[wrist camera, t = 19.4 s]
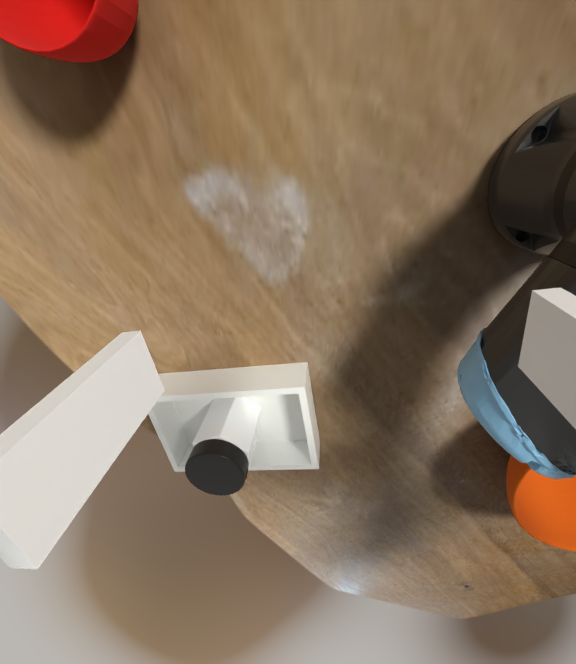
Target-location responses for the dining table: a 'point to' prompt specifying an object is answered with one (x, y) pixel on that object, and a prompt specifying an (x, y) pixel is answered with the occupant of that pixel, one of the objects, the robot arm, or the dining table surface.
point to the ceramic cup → (68, 27)
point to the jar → (224, 446)
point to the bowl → (542, 505)
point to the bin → (258, 386)
